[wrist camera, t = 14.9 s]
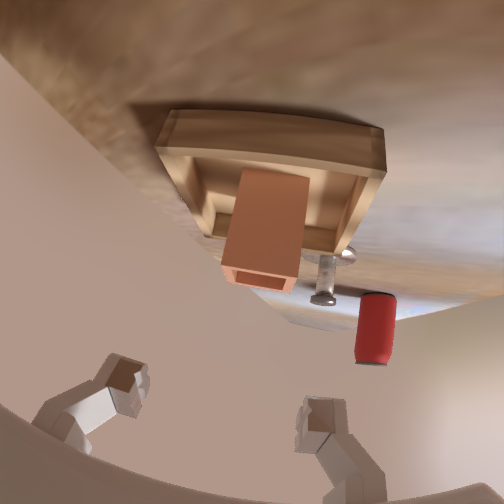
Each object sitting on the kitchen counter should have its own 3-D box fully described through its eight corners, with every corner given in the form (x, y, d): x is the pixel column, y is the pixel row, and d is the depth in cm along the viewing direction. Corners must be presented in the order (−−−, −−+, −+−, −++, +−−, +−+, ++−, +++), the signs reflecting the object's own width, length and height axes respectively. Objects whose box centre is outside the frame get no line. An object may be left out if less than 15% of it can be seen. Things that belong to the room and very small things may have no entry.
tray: (171, 109, 17) (154, 146, 16) (383, 129, 15) (386, 171, 14) (212, 209, 30) (205, 237, 29) (343, 227, 28) (340, 257, 27)
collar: (243, 167, 21) (220, 264, 18) (310, 177, 20) (297, 277, 18) (245, 199, 25) (227, 282, 23) (302, 208, 25) (289, 293, 22)
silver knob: (303, 237, 32) (295, 293, 30) (362, 246, 31) (357, 301, 29) (299, 257, 38) (292, 304, 36) (349, 264, 37) (344, 311, 35)
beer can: (381, 290, 46) (373, 364, 42) (404, 298, 48) (397, 366, 45) (353, 294, 52) (344, 362, 48) (376, 301, 54) (369, 365, 50)
